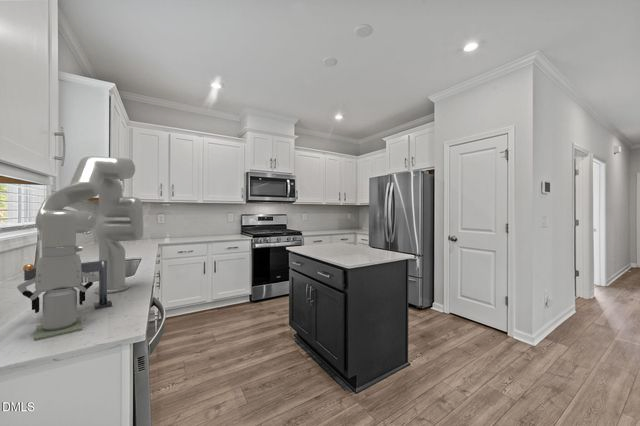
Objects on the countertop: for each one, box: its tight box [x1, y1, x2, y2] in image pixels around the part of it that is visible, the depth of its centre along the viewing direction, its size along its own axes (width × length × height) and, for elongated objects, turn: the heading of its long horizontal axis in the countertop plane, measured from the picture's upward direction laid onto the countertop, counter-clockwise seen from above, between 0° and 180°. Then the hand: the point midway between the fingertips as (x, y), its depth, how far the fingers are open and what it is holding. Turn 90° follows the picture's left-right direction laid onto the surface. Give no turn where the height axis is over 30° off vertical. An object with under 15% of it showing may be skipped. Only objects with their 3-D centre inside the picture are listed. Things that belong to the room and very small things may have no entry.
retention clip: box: [22, 260, 108, 304], centre depth 94 cm, size 22×3×17 cm, turn 138°
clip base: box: [93, 300, 113, 310], centre depth 101 cm, size 5×5×1 cm
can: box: [42, 287, 78, 330], centre depth 82 cm, size 8×8×12 cm
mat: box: [33, 316, 83, 341], centre depth 82 cm, size 12×10×1 cm
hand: (60, 307), depth 82 cm, fingers open, 9 cm apart
